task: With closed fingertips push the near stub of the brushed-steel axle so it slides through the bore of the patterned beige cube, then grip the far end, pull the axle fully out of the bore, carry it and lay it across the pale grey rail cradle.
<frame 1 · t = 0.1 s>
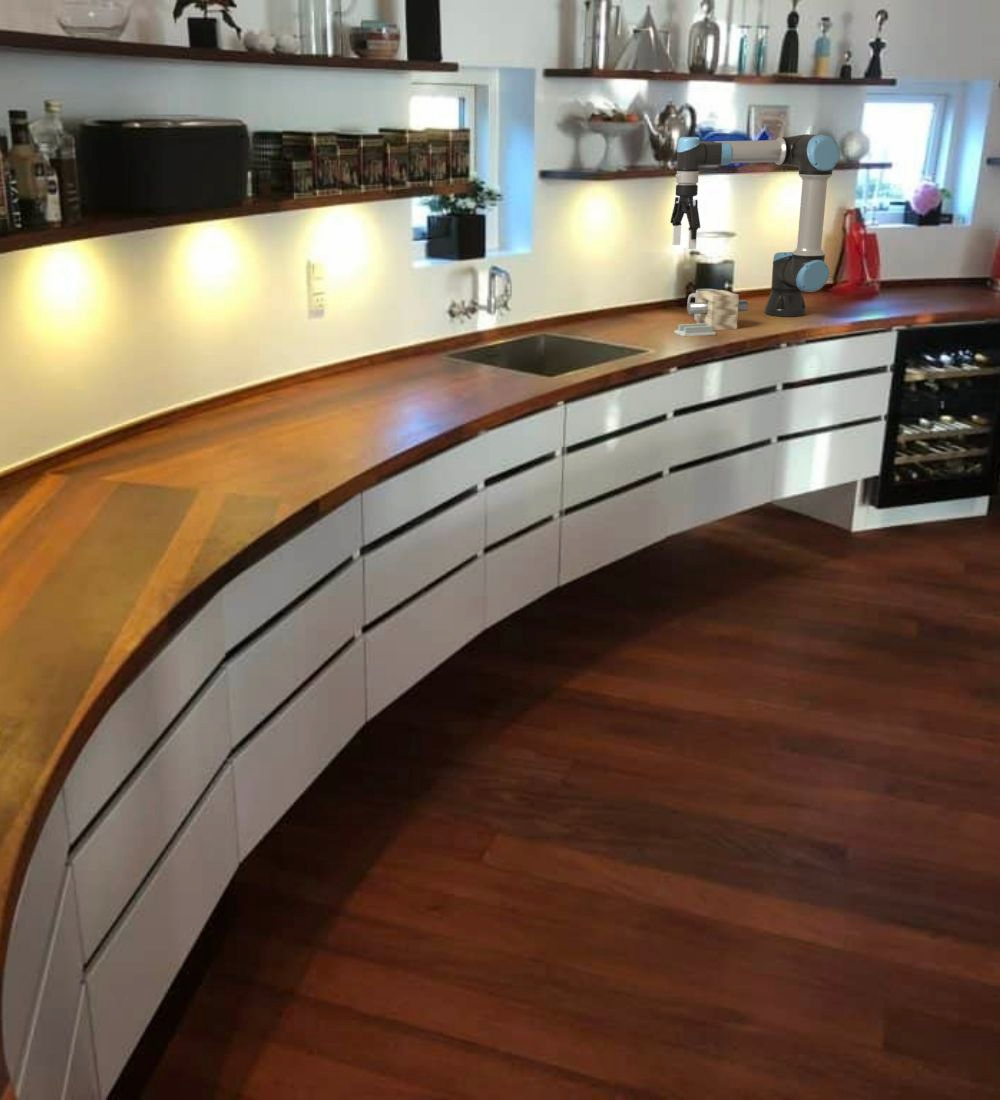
hand: (683, 246, 427), 28 cm above the worktop, fingers open, 13 cm apart
cradle: (694, 333, 423), on the worktop
axle: (717, 307, 433), point 7 cm above the worktop, touching patterned beige cube
mug: (701, 320, 450), on the worktop
patterned beige cube: (716, 326, 436), on the worktop
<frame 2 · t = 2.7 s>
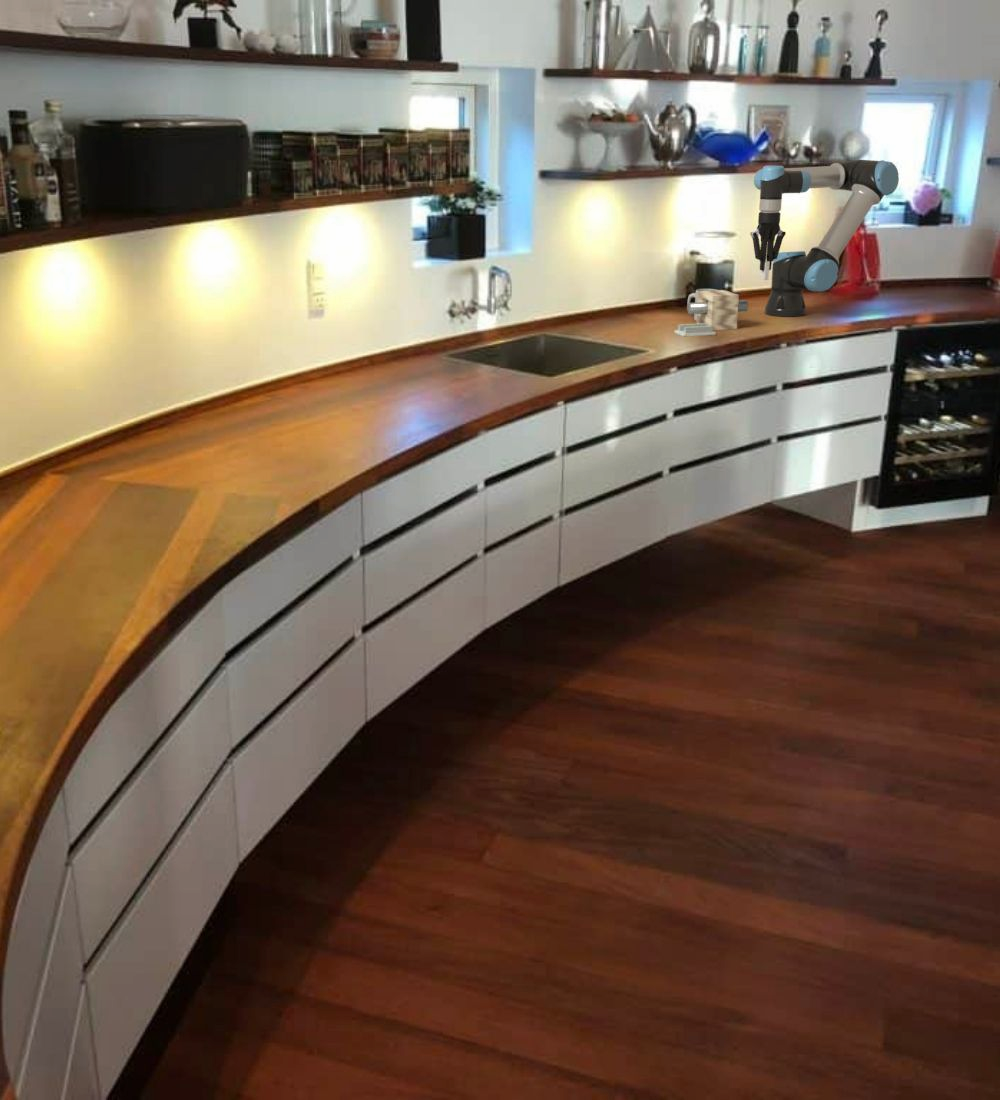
hand: (764, 279, 435), 16 cm above the worktop, fingers closed
nothing on the worktop moved.
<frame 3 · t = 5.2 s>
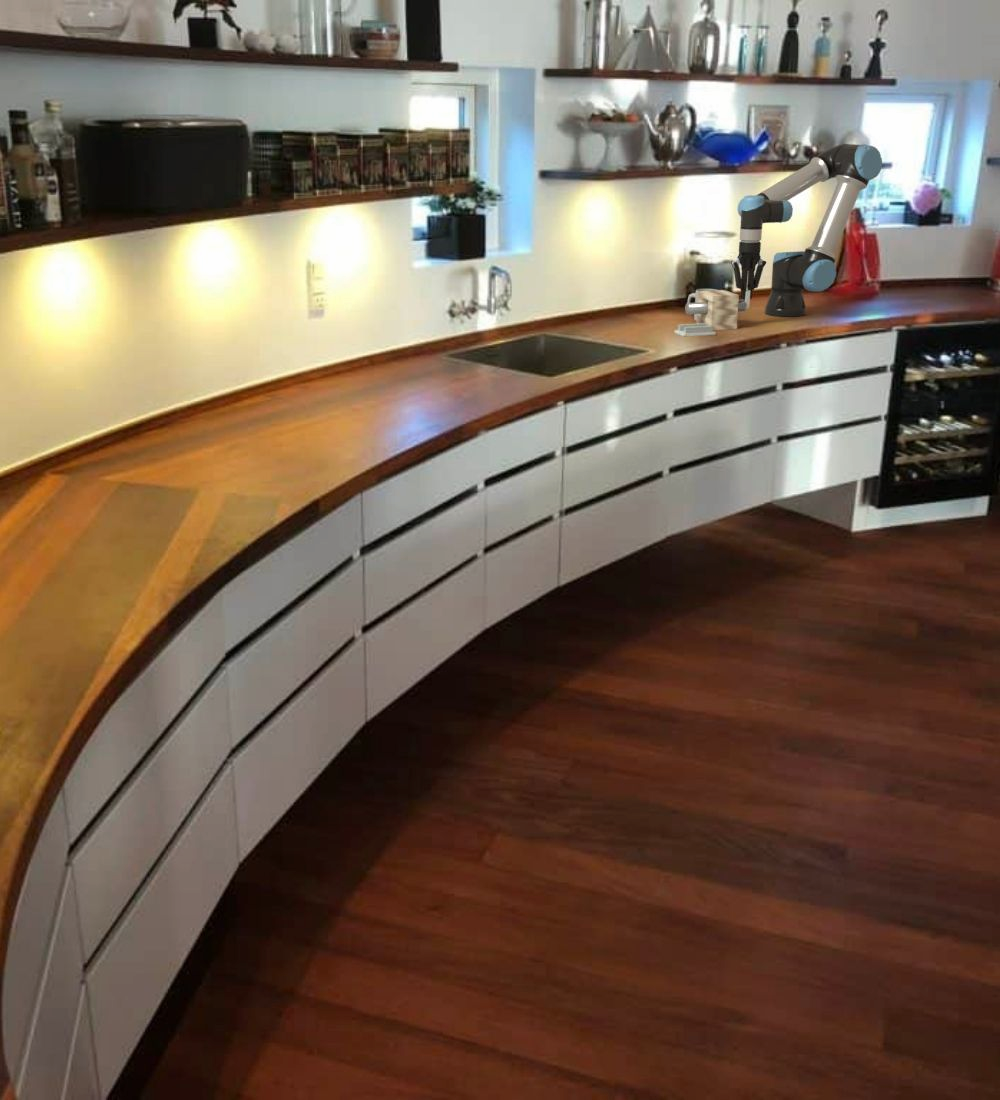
hand: (745, 308, 436), 6 cm above the worktop, fingers closed
axle: (715, 307, 433), point 7 cm above the worktop, touching patterned beige cube, gripper
everything else where it was.
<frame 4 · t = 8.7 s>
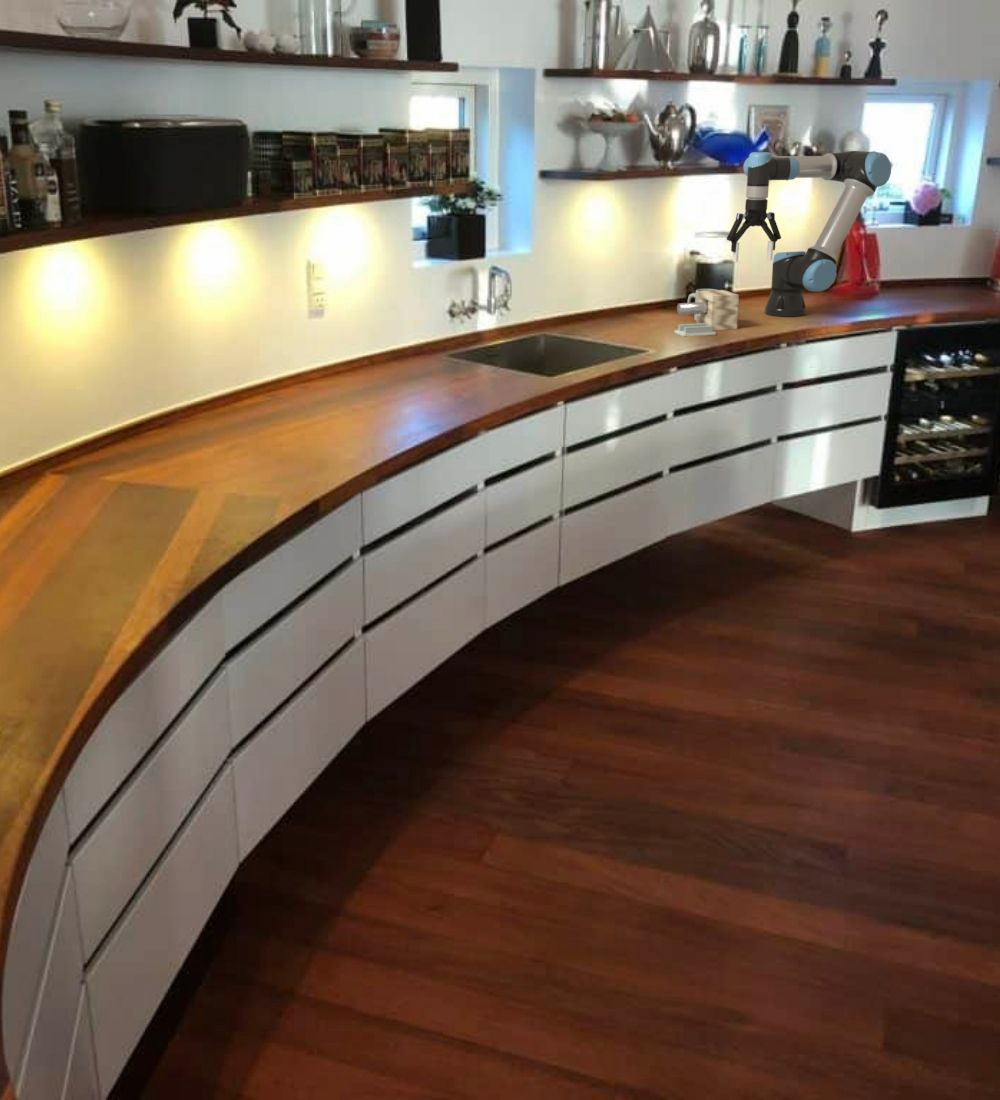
hand: (752, 260, 431), 23 cm above the worktop, fingers open, 13 cm apart
axle: (707, 307, 432), point 7 cm above the worktop, touching patterned beige cube
everything else where it was.
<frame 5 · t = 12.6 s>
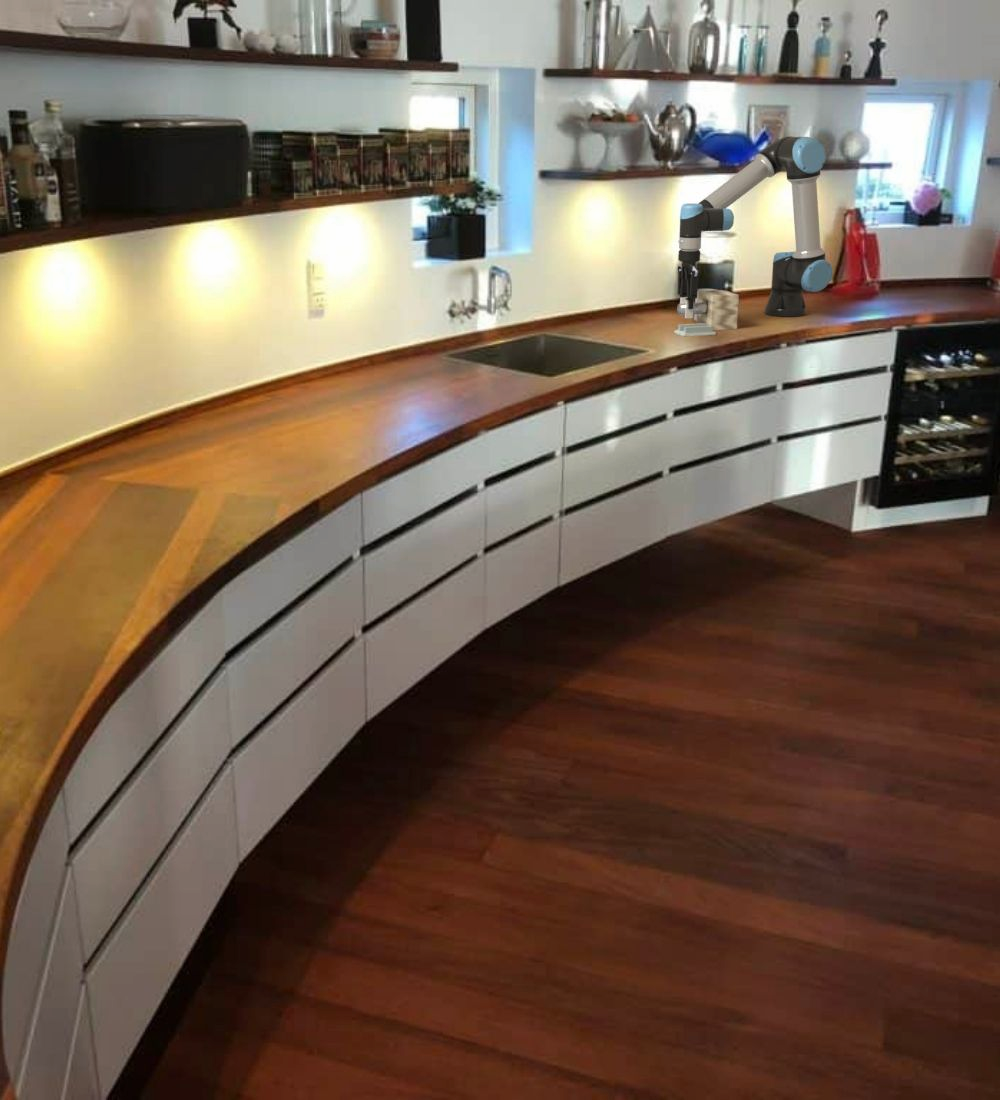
hand: (686, 316, 431), 4 cm above the worktop, fingers closed on axle, 4 cm apart
axle: (707, 307, 432), point 7 cm above the worktop, tilted 5°, touching patterned beige cube, gripper
everything else where it was.
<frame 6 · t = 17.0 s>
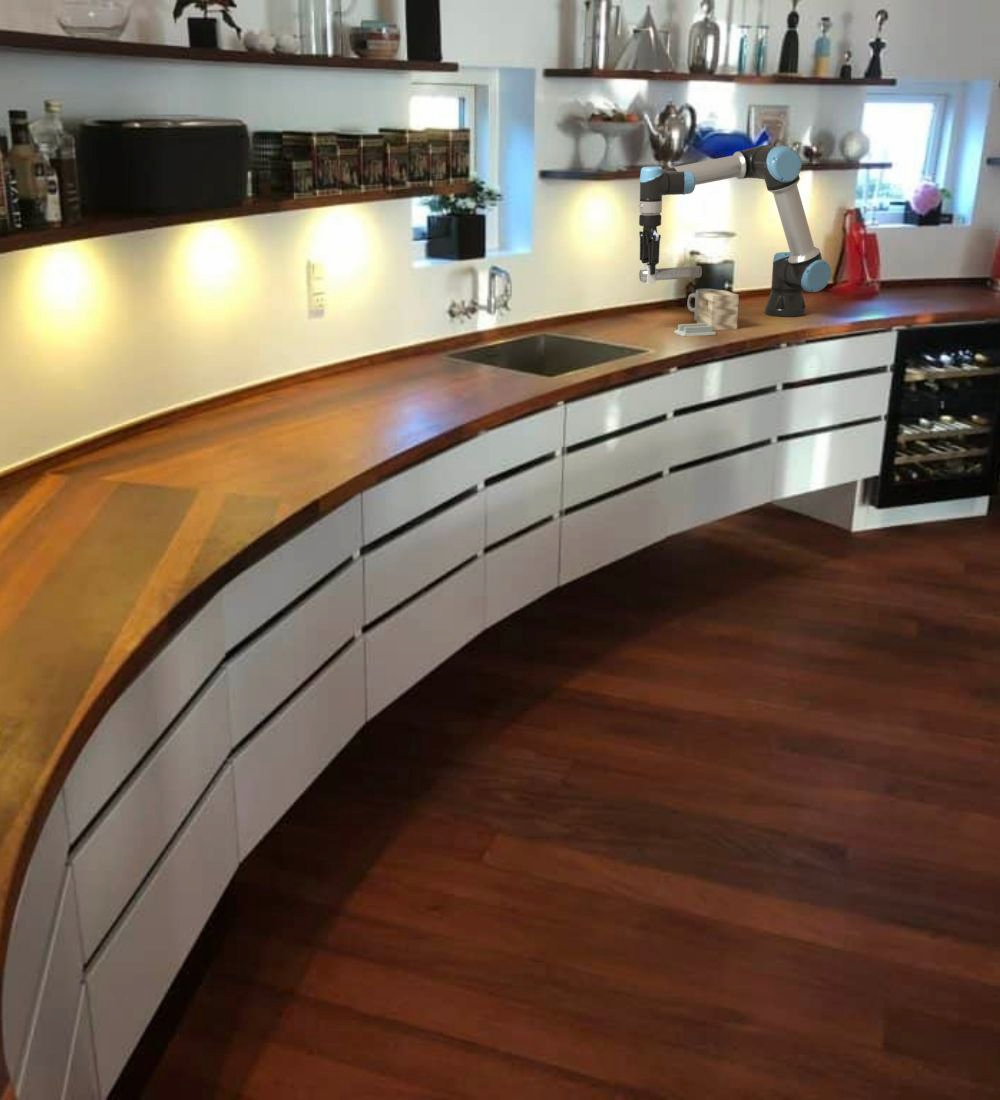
hand: (648, 283, 423), 17 cm above the worktop, fingers closed on axle, 4 cm apart
axle: (670, 273, 424), point 20 cm above the worktop, touching gripper
everything else where it was.
when the fingers open (4 cm above the worktop, at t = 21.4 s): axle drops 3 cm, resting on cradle.
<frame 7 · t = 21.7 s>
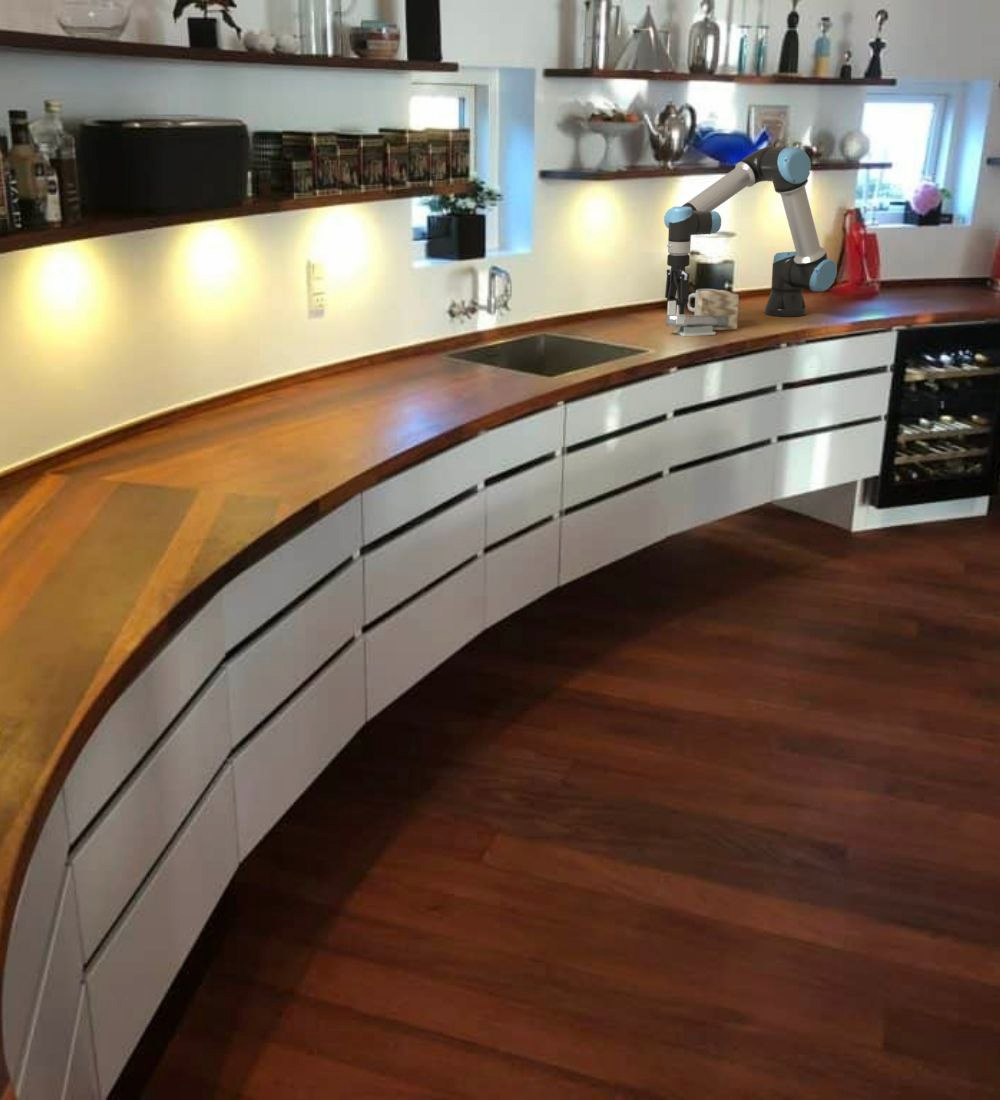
hand: (675, 321, 420), 5 cm above the worktop, fingers open, 7 cm apart
axle: (697, 321, 422), point 4 cm above the worktop, tilted 6°, touching cradle
everything else where it was.
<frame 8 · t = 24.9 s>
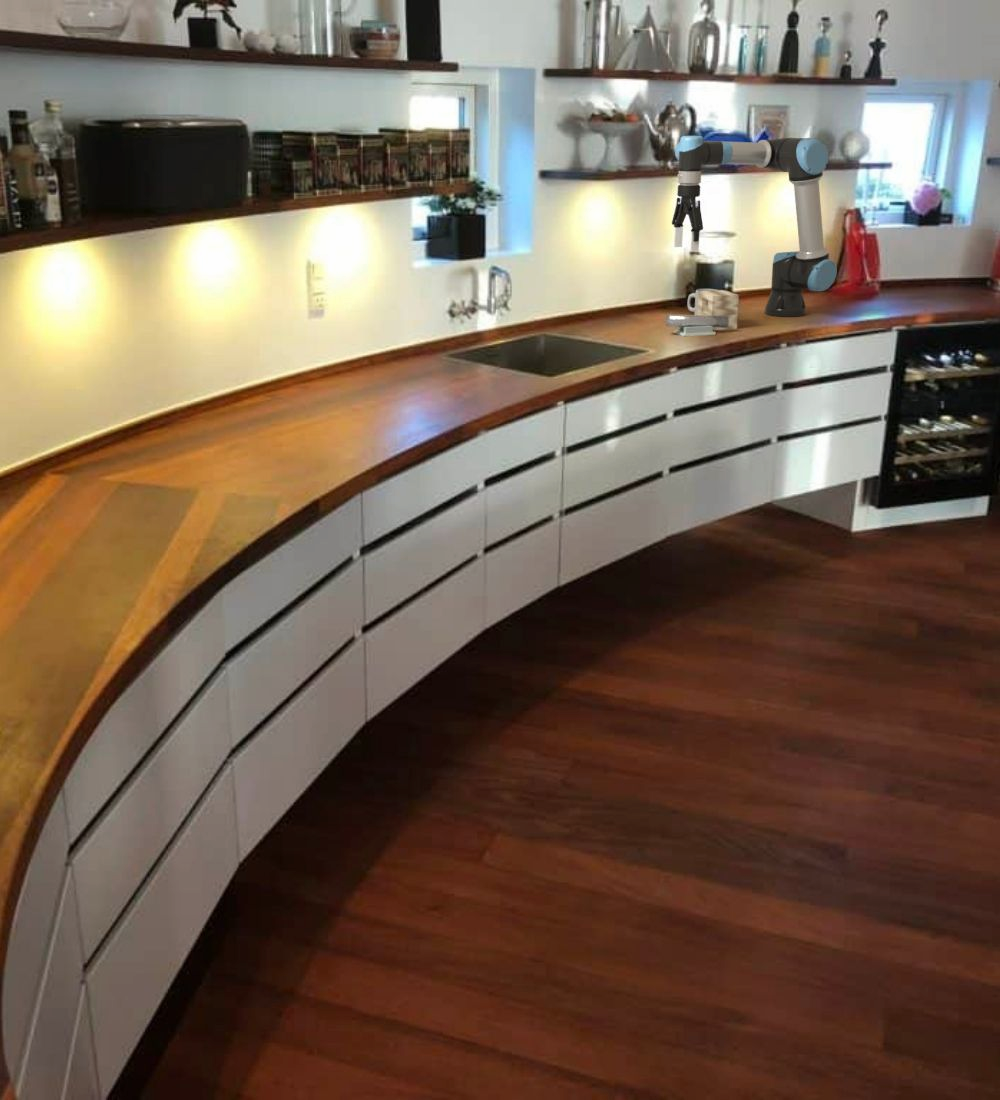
hand: (686, 249, 414), 29 cm above the worktop, fingers open, 13 cm apart
nothing on the worktop moved.
at the end: axle inside the target area on the cradle (0.7 cm from its centre), point 4.3 cm above the cradle's base; axle touching cradle; the gripper is holding nothing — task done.
